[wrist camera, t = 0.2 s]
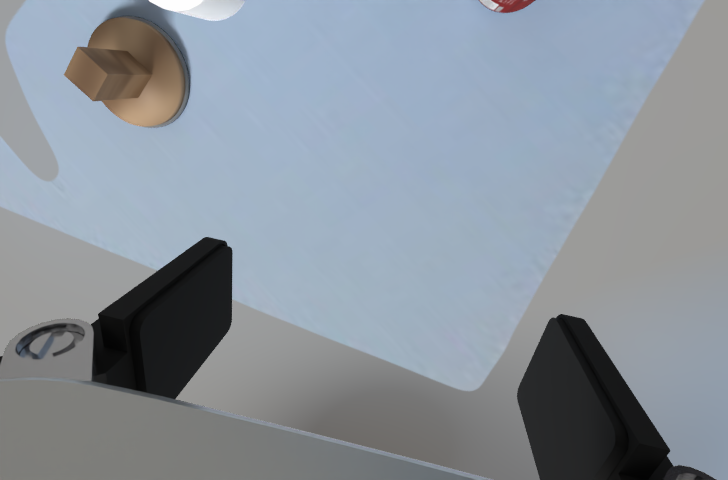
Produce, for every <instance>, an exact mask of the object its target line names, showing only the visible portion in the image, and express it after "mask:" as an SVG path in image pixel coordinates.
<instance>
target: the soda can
mask: <svg viewBox="0 0 728 480" xmlns="http://www.w3.org/2000/svg"><path fill="white" fill-rule="evenodd" d="M479 1H480V2H481V3H482V4H483V5H484V6H485V7H486V8H488V9H490V10H492V11H495V12H499V13H510V12H515V11H518V10H521V9H523V8H525V7H526V6H528V5H529V4H531V3H532V2H534V1H535V0H479Z"/></svg>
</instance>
